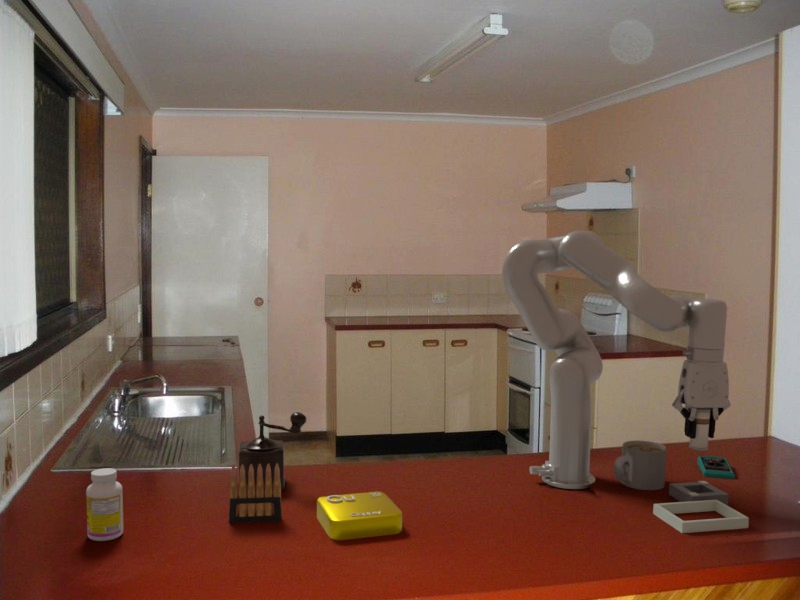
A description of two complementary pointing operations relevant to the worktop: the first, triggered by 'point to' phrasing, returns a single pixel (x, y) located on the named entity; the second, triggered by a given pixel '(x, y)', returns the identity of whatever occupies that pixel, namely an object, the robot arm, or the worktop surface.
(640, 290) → the robot arm
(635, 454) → the coffee mug
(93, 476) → the supplement bottle
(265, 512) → the ammunition clip
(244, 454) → the manual coffee grinder
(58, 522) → the worktop surface
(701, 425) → the cylinder
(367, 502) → the element tile
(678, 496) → the fuse holder
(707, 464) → the digital multimeter
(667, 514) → the parts tray
